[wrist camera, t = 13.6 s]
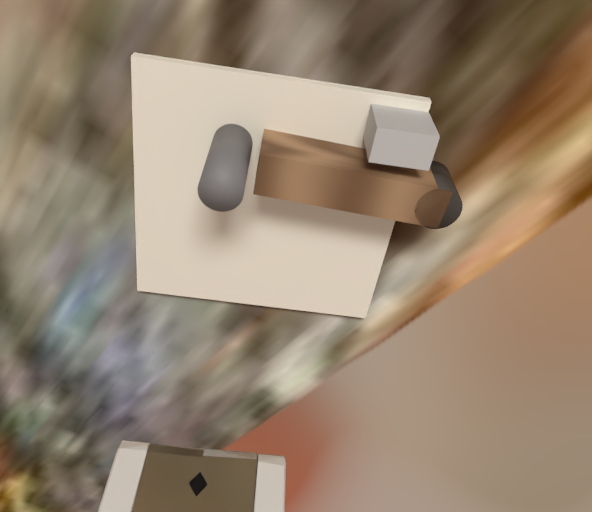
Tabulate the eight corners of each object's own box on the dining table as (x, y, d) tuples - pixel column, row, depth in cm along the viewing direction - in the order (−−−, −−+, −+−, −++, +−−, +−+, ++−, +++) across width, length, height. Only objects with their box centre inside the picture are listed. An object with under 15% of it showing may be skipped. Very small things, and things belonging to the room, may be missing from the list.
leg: (257, 167, 40) (252, 195, 37) (264, 127, 39) (260, 152, 35) (440, 202, 42) (451, 232, 39) (456, 165, 40) (469, 193, 37)
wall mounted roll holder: (139, 284, 48) (114, 350, 42) (133, 52, 36) (98, 95, 30) (364, 312, 50) (373, 379, 43) (429, 97, 38) (453, 147, 32)
